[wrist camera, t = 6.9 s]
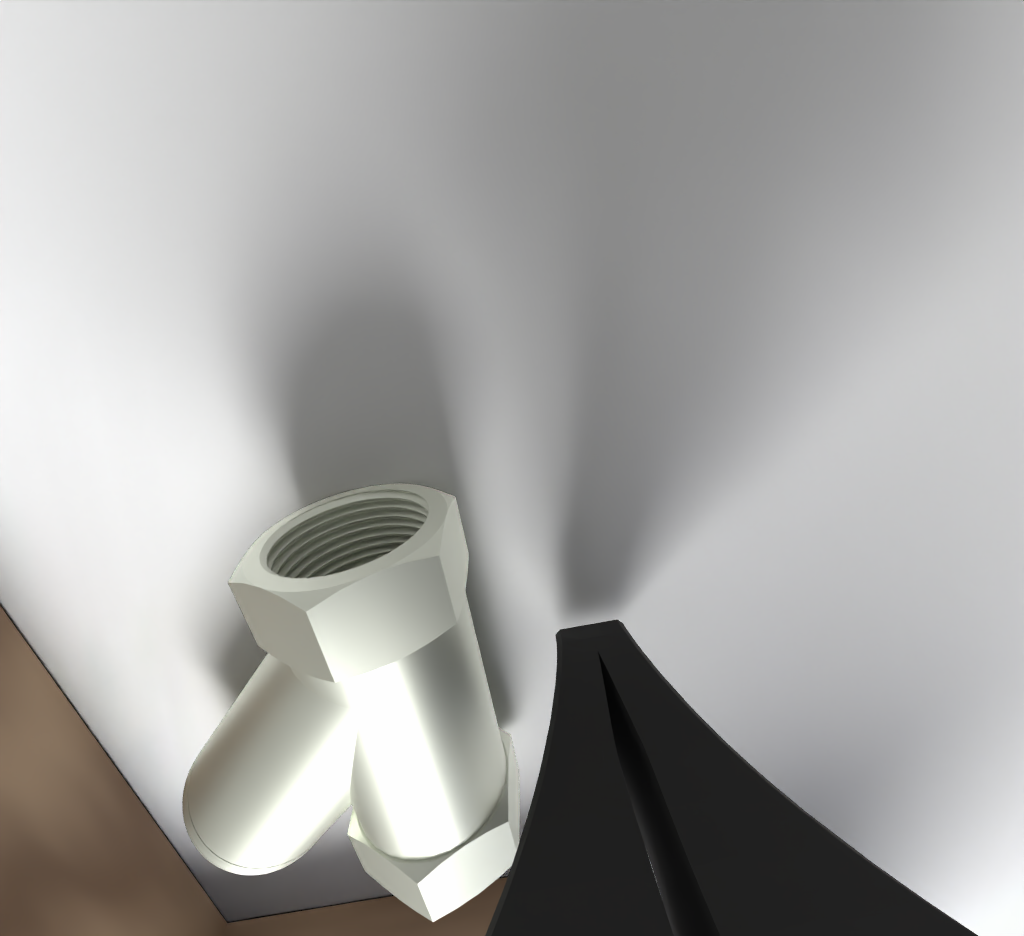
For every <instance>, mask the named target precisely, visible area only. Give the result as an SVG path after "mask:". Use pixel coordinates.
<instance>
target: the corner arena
mask: <svg viewBox="0 0 1024 936" xmlns="http://www.w3.org/2000/svg"><path fill="white" fill-rule="evenodd" d="M507 878H508V877H506V878H500V879H497V880H495V881H494V882H493V883H492V884H490V885H489V886H488V887H487V888H485V889H484V890H483V891H482V892H480V893H479V894H478V895H476V896H475V897H473V898H472V899H470V900H469V901H467V902H466V903H464V904H463V905H462V906H460V907H459V908H457V909H455V910H454V911H452V912H450V913H448V914H447V915H445V916H443V917H441V918H439V919H438V920H436V921H434V922H432V921H430V920H429V919H427V918H426V917H424V916H422V915H421V914H419V913H418V912H416V911H415V910H413V909H412V908H410V907H409V906H408V905H406V904H405V903H403V902H402V901H401V900H399V899H398V898H397V897H395V896H390V897H384V898H378V899H372V900H365V901H359V902H353V903H347V904H341V905H335V906H329V907H323V908H317V909H311V910H304V911H298V912H292V913H286V914H280V915H274V916H268V917H262V918H256V919H250V920H243V921H237V922H231V923H227V922H226V921H225V919H224V918H223V917H222V915H221V914H220V912H219V911H218V910H217V908H216V907H215V905H214V904H213V903H212V901H211V900H210V898H209V897H208V896H207V894H206V893H205V891H204V890H203V889H202V887H201V886H200V884H199V883H198V882H197V880H196V879H195V877H194V876H193V875H192V873H191V872H190V870H189V869H188V868H187V866H186V865H185V863H184V862H183V861H182V859H181V858H180V856H179V855H178V854H177V852H176V851H175V849H174V848H173V847H172V845H171V844H170V842H169V841H168V840H167V838H166V837H165V835H164V834H163V833H162V831H161V830H160V828H159V827H158V826H157V824H156V823H155V821H154V820H153V819H152V817H151V816H150V814H149V813H148V812H147V810H146V809H145V807H144V806H143V805H142V803H141V802H140V801H139V799H138V798H137V796H136V795H135V794H134V792H133V791H132V789H131V788H130V787H129V785H128V784H127V782H126V781H125V780H124V778H123V777H122V775H121V774H120V773H119V771H118V770H117V768H116V767H115V766H114V764H113V763H112V761H111V760H110V759H109V757H108V756H107V754H106V753H105V752H104V750H103V749H102V747H101V746H100V745H99V743H98V742H97V740H96V739H95V738H94V736H93V735H92V733H91V732H90V731H89V729H88V728H87V726H86V725H85V724H84V722H83V721H82V719H81V718H80V717H79V715H78V714H77V712H76V711H75V710H74V708H73V707H72V705H71V704H70V703H69V701H68V700H67V698H66V697H65V696H64V694H63V693H62V691H61V690H60V689H59V687H58V686H57V684H56V683H55V682H54V680H53V679H52V678H51V676H50V675H49V673H48V672H47V671H46V669H45V668H44V666H43V665H42V664H41V662H40V661H39V659H38V658H37V657H36V655H35V654H34V652H33V651H32V650H31V648H30V647H29V645H28V644H27V643H26V641H25V640H24V638H23V637H22V636H21V634H20V633H19V631H18V630H17V629H16V627H15V626H14V624H13V623H12V622H11V620H10V619H9V617H8V616H7V615H6V613H5V612H4V610H3V609H2V608H1V606H0V936H485V935H486V932H487V930H488V927H489V925H490V922H491V920H492V917H493V914H494V912H495V909H496V907H497V904H498V902H499V899H500V897H501V894H502V892H503V889H504V886H505V883H506V881H507Z"/></svg>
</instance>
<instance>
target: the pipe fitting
mask: <svg viewBox="0 0 1024 936" xmlns="http://www.w3.org/2000/svg"><path fill="white" fill-rule="evenodd" d="M468 562H469V553H468V548H467V544H466V540H465V535H464V531H463V527H462V522H461V518H460V514H459V510H458V505H457V501H456V497H455V496H453V495H450V494H447V493H445V492H442V491H439V490H437V489H434V488H430V487H426V486H421V485H416V484H398V483H397V484H383V485H375V486H369V487H363V488H359V489H354V490H351V491H347V492H343V493H340V494H337V495H334V496H331V497H328V498H325V499H323V500H320V501H318V502H315V503H313V504H310V505H308V506H306V507H304V508H302V509H300V510H298V511H296V512H294V513H292V514H290V515H289V516H287V517H285V518H284V519H282V520H281V521H279V522H278V523H276V524H275V525H273V526H272V527H270V528H269V529H268V530H267V531H266V532H264V533H263V534H262V535H261V536H260V537H259V538H258V539H257V540H256V541H255V542H254V543H253V544H252V546H251V547H250V548H249V549H248V551H247V552H246V553H245V555H244V556H243V558H242V559H241V561H240V562H239V564H238V566H237V567H236V569H235V571H234V572H233V574H232V576H231V578H230V580H229V581H228V584H229V586H230V588H231V590H232V592H233V594H234V596H235V599H236V601H237V603H238V605H239V607H240V609H241V611H242V613H243V615H244V617H245V620H246V622H247V624H248V626H249V628H250V630H251V632H252V634H253V636H254V639H255V641H256V643H257V645H258V646H259V647H260V648H262V649H263V650H264V651H266V652H267V653H268V654H267V655H266V656H265V658H264V659H263V661H262V662H261V664H260V665H259V667H258V668H257V670H256V671H255V673H254V674H253V675H252V677H251V678H250V680H249V681H248V683H247V684H246V686H245V687H244V689H243V690H242V692H241V693H240V694H239V696H238V697H237V699H236V700H235V702H234V703H233V705H232V706H231V708H230V709H229V711H228V712H227V714H226V715H225V716H224V718H223V719H222V721H221V722H220V724H219V725H218V727H217V728H216V730H215V731H214V733H213V734H212V735H211V737H210V738H209V740H208V741H207V743H206V744H205V746H204V747H203V749H202V750H201V752H200V753H199V754H198V756H197V757H196V759H195V761H194V763H193V764H192V767H191V769H190V771H189V773H188V776H187V779H186V782H185V787H184V791H183V802H182V803H183V817H184V823H185V826H186V829H187V832H188V835H189V837H190V839H191V841H192V843H193V844H194V846H195V847H196V849H197V850H198V851H199V852H200V853H201V855H202V856H203V857H204V858H206V859H207V860H208V861H209V862H210V863H212V864H213V865H215V866H217V867H218V868H220V869H223V870H225V871H227V872H230V873H234V874H239V875H262V874H267V873H271V872H274V871H277V870H280V869H282V868H284V867H286V866H288V865H290V864H292V863H293V862H295V861H296V860H298V859H299V858H301V857H302V856H303V855H304V854H305V853H306V852H307V851H308V850H309V849H311V847H312V846H313V845H314V844H315V843H316V842H317V841H318V840H319V839H320V837H321V836H322V835H323V834H324V833H325V832H326V831H327V830H328V829H329V828H330V827H331V826H332V825H333V824H334V823H335V822H336V821H337V819H338V818H339V817H340V816H341V815H342V814H343V813H344V812H345V811H346V810H347V809H348V808H349V807H350V806H351V805H352V807H353V810H352V815H351V820H350V825H349V829H348V834H347V835H348V837H349V839H350V841H351V843H352V845H353V847H354V849H355V851H356V854H357V856H358V858H359V860H360V862H361V864H362V866H363V868H364V870H365V872H366V873H368V874H369V875H370V876H371V877H372V878H373V879H375V880H376V881H377V882H378V883H379V884H380V885H382V886H383V887H384V888H385V889H387V890H388V891H389V892H390V893H392V894H393V895H394V896H395V897H397V898H398V899H399V900H401V901H402V902H403V903H405V904H406V905H408V906H409V907H410V908H412V909H413V910H415V911H416V912H418V913H419V914H421V915H422V916H424V917H426V918H427V919H429V920H430V921H432V922H434V921H436V920H438V919H439V918H441V917H443V916H445V915H447V914H448V913H450V912H452V911H454V910H455V909H457V908H459V907H460V906H462V905H463V904H464V903H466V902H467V901H469V900H470V899H472V898H473V897H475V896H476V895H478V894H479V893H480V892H482V891H483V890H484V889H485V888H487V887H488V886H489V885H490V884H492V883H493V882H494V881H495V880H497V879H498V878H499V877H500V876H501V875H502V874H503V873H505V872H506V871H507V870H508V869H509V868H510V867H511V866H512V863H513V861H514V857H515V854H516V851H517V848H518V845H519V830H520V791H519V769H518V764H517V760H516V756H515V751H514V747H513V743H512V738H511V734H509V733H507V732H506V731H504V730H502V729H501V728H499V727H498V723H497V719H496V715H495V711H494V707H493V703H492V699H491V694H490V690H489V686H488V682H487V678H486V674H485V670H484V666H483V662H482V657H481V653H480V649H479V645H478V641H477V637H476V633H475V629H474V625H473V621H472V617H471V613H470V608H469V604H468V600H467V596H466V592H465V590H466V583H467V575H468Z"/></svg>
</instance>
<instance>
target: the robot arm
mask: <svg viewBox="0 0 1024 936" xmlns="http://www.w3.org/2000/svg"><path fill="white" fill-rule="evenodd" d="M556 641H557V672H556V685H555V692H554V699H553V707H552V714H551V720H550V726H549V731H548V736H547V740H546V745H545V750H544V755H543V760H542V764H541V768H540V773H539V777H538V781H537V784H536V788H535V792H534V796H533V799H532V803H531V806H530V810H529V813H528V817H527V820H526V823H525V827H524V830H523V833H522V836H521V839H520V842H519V845H518V848H517V851H516V854H515V857H514V861H513V863H512V866H511V869H510V872H509V875H508V878H507V881H506V883H505V886H504V889H503V892H502V894H501V897H500V899H499V902H498V904H497V907H496V909H495V912H494V914H493V917H492V920H491V922H490V925H489V927H488V930H487V932H486V935H485V936H978V935H976V934H975V933H973V932H972V931H970V930H969V929H967V928H966V927H964V926H963V925H961V924H960V923H958V922H957V921H955V920H954V919H952V918H951V917H950V916H948V915H947V914H945V913H944V912H942V911H941V910H939V909H938V908H936V907H935V906H933V905H932V904H930V903H929V902H927V901H926V900H924V899H923V898H921V897H920V896H919V895H917V894H916V893H914V892H913V891H912V890H910V889H909V888H907V887H906V886H905V885H903V884H902V883H900V882H899V881H897V880H896V879H895V878H893V877H892V876H890V875H889V874H888V873H886V872H885V871H883V870H882V869H880V868H879V867H878V866H876V865H875V864H873V863H872V862H871V861H869V860H868V859H867V858H866V857H864V856H863V855H862V854H860V853H859V852H858V851H856V850H855V849H854V848H852V847H851V846H850V845H848V844H847V843H846V842H845V841H843V840H842V839H841V838H839V837H838V836H837V835H835V834H834V833H833V832H831V831H830V830H829V829H828V828H826V827H825V826H824V825H822V824H821V823H820V822H818V821H817V820H816V819H814V818H813V817H812V816H811V815H809V814H808V813H807V812H805V811H804V810H803V809H802V808H800V807H799V806H798V805H797V804H796V803H794V802H793V801H792V800H791V799H790V798H788V797H787V796H786V795H785V794H784V793H782V792H781V791H780V790H779V789H778V788H776V787H775V786H774V785H773V784H772V783H770V782H769V781H768V780H767V779H766V778H765V777H764V776H763V775H761V774H760V773H759V772H758V771H757V770H756V769H755V768H753V767H752V766H751V765H750V764H749V763H748V762H747V761H746V760H744V759H743V758H742V757H741V756H740V755H739V754H738V753H737V752H736V751H735V750H734V749H733V748H732V747H731V746H729V745H728V744H727V743H726V742H725V741H724V740H723V739H722V738H721V737H720V736H719V735H718V734H717V733H716V732H715V731H714V730H713V729H712V728H711V727H710V726H709V725H708V724H707V723H706V722H705V721H704V720H703V719H702V718H701V717H700V716H699V715H698V714H697V713H696V712H695V711H694V710H693V709H692V708H691V706H690V705H689V704H688V703H687V702H686V701H685V700H684V699H683V698H682V697H681V696H680V694H679V693H678V692H677V691H676V690H675V689H674V688H673V687H672V686H671V684H670V683H669V682H668V681H667V680H666V679H665V678H664V677H663V675H662V674H661V673H660V672H659V671H658V670H657V668H656V667H655V666H654V665H653V663H652V662H651V661H650V660H649V659H648V657H647V656H646V655H645V654H644V652H643V651H642V650H641V648H640V647H639V646H638V645H637V643H636V642H635V640H634V639H633V638H632V636H631V635H630V633H629V632H628V631H627V629H626V628H625V626H624V624H623V623H622V622H620V621H618V620H612V621H607V622H601V623H595V624H590V625H584V626H578V627H572V628H567V629H561V630H559V632H558V633H557V634H556ZM646 850H647V851H646ZM647 853H648V854H647ZM648 856H649V857H648ZM649 859H650V860H649ZM650 862H651V863H650ZM651 865H652V867H651ZM652 868H653V870H652ZM653 871H654V873H653ZM654 874H655V876H654ZM655 877H656V879H655ZM656 881H657V882H656ZM657 884H658V885H657ZM658 887H659V889H658ZM659 890H660V892H659ZM660 894H661V895H660ZM661 897H662V898H661Z"/></svg>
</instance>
